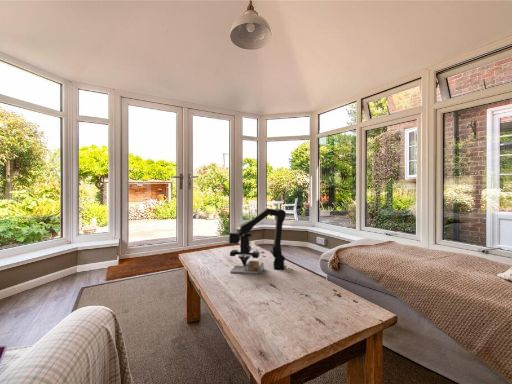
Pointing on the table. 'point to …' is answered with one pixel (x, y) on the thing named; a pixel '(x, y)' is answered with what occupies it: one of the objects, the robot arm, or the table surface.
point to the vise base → (241, 270)
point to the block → (253, 265)
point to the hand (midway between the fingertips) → (244, 266)
